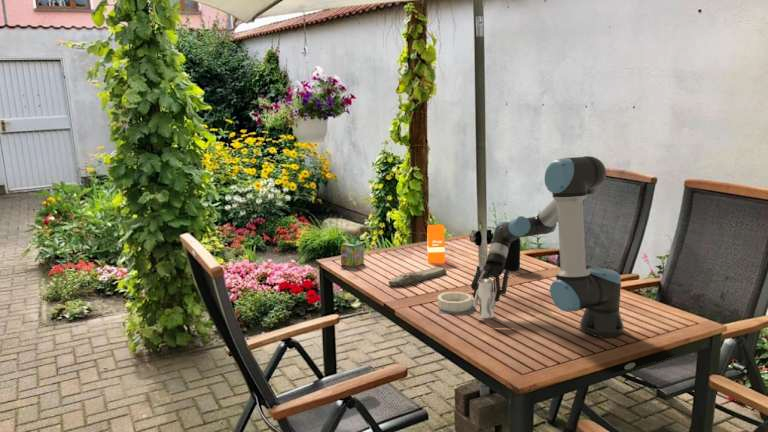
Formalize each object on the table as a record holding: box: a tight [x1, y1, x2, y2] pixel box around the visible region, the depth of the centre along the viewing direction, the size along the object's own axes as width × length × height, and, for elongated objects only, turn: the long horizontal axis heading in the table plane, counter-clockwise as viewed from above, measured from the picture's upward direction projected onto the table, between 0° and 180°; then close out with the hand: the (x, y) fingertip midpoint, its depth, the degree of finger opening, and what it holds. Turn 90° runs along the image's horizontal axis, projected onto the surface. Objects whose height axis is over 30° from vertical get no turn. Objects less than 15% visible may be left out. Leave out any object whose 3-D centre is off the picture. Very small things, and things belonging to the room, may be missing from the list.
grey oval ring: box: [438, 299, 475, 315], centre depth 249 cm, size 18×14×1 cm
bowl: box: [437, 291, 473, 312], centre depth 248 cm, size 14×14×4 cm
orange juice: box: [426, 224, 446, 264], centre depth 319 cm, size 8×9×20 cm
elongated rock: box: [388, 267, 447, 287], centre depth 289 cm, size 35×5×10 cm
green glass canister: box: [340, 236, 365, 267], centre depth 318 cm, size 9×9×15 cm
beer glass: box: [477, 278, 497, 320], centre depth 236 cm, size 7×7×15 cm
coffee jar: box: [504, 238, 521, 272], centre depth 301 cm, size 11×11×18 cm
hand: (483, 306), depth 233 cm, fingers closed on beer glass, 6 cm apart
